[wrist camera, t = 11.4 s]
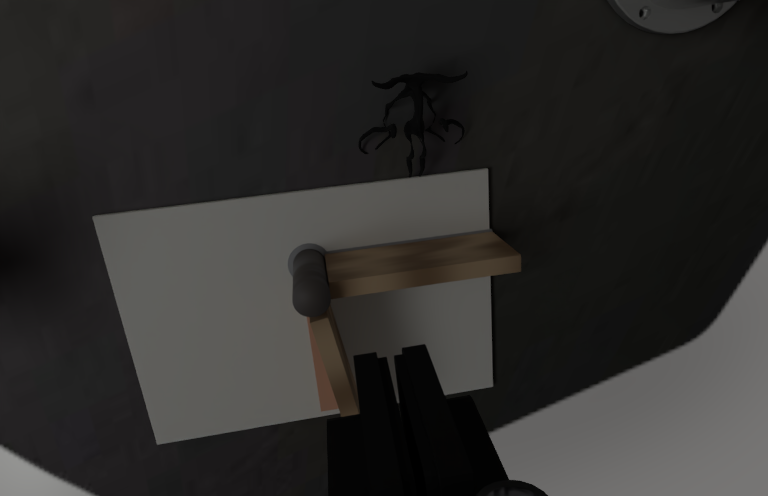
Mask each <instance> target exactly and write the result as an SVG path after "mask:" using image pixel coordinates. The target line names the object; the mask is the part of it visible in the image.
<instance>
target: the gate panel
mask: <svg viewBox="0 0 768 496" xmlns="http://www.w3.org/2000/svg"><path fill="white" fill-rule="evenodd" d="M310 325H311V328H312V331H313V334H314V337H315V340H316V343H317V346H318V349H319V352H320V355H321V358H322V361H323V363H324V366H325V369H326V372H327V375H328V378H329V381H330V384H331V387H332V390H333V393H334V396H335V399H336V402H337V405H338V408H339V411H340V414H341V417H344V416H350V415H356V414H360V409H359V401H358V392H357V386H356V383H355V380H354V377H353V374H352V371H351V367H350V364H349V361H348V358H347V355H346V352H345V349H344V345H343V342H342V339H341V336H340V333H339V330H338V327H337V323H336V320H335V317H334V314H333V311H332V308H331V304H330V306H329V308H328V309H327V311H326V312H324V313H323V314H322V315H320V316H317V317H310Z"/></svg>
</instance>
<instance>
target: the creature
mask: <svg viewBox="0 0 768 496" xmlns="http://www.w3.org/2000/svg"><path fill="white" fill-rule="evenodd" d="M466 76H467V71H466V73H465V74H463V75H460V76H456V77H447V76H443V75H440V74H424V73H415V74H413V75H408V74H404V75H401V76H400V77H396V78H393V79H391V80H390V81H388V82H387V83H383V84H380V83H375V82H373V81H372V84H373V85H374V86H375V87H378V88H381V89H390V88H392V87H393V86H394V85H396V84H397V83H398V82H404V83H406V86H405V89H404V90H403V91H402V92H401V93H400V94H399V95H398V96H397V97H396V98H395V99H394V100H393V101H392V102H391V103H389V104H386V109H385V117H384V119H385V118H386V116H387V112H388V109H389V108H390V107H391V106H392V105H393V103H394V102H395V101H397V100H399V99H401V98H404V97H408V96H411V97H412V99H413V101H414V107H415V112H414V116H413V118H412V119H411V120H410V121H408V122H407V123H406V125H405V127H404V132H405V135H406V137H407V139H408V140H409V141H410V142H411V153H410V155H409V157H407V166H408V169H409V173H410V174H409V178H411V175H412V162H411V160H412V159H413V157H414V150H413V147H412V140H411V134H414V135H416V136H418V138H419V137H420V138H421V139H422V142H421V143H422V145H423V152H422V155H421V156H420V166H421V171H420V173H419V177H420V176H421V175H422V172H423V171H424V168H425V156H426V148H425V144H424V135H423V132H424V122H423V118H422V115H423V96H424V97H426V98H427V100H428V101H427V103H428V105H429V107H430V109H431V110H432V112H433V113H434V114H435V112H434V111H433V109H432V107H431V103H430V102H431V99H430V98H429V97H428V96H427V95H426V94H425V93H424V92H423V91H422V89H421V85H422V83H423V82H425V81H428V80H437V81H440V82H444V83H452V82H455V81H459V80H461V79H463V78H465V77H466ZM435 116H436V114H435ZM384 119H383V122H384ZM434 120H435V118H434ZM433 122H434V121H433ZM439 122H440V124H441V125H443V127H444V129H445V131H446V132H448V125H449V124H451V123H453V124H455V125H457V126H458V127H460V128H462V137H463V135H464V127H463V126H462V125H461V124H460V123H459V122H458V121H456V120H453V119H450V120H446V121H445V120H444V119H440V120H439ZM432 124H433V123H432ZM384 126H385V124H384ZM430 127H431V126H430ZM430 127H429V128H427V129H426V130H425V131H428V132H430V133H432V134H435V135H437V134H436V133H434V132H432V131H431V130H430ZM389 130H391V132H390V131H389ZM387 131H389V136H388V137H387V138H386V139H385V140H387V139H388V138H390V137H391V136H392V138H395V136H396V126H395V124H391V125H389V126H388V127H386V126H385V127H381V128H380V127H374V128H372V129H370V130H369V131H367V132H366V133H365V134H363V135H362V137H361V138H360V140H359V149H360V150H361V151H362V152H363V153H364V154H368V153H367V152H364V151H363V150H362V149H361V141H362V140H363V139H365V138H366V137H367V136H368V135H370V134H371V133H372V132H387ZM437 136H438V137H439V138H440V139H441V140H443V141H444V142H445V140H444V139H443V138H442V137H441V136H439V135H437ZM462 137H461V138H460V140H461V139H462ZM420 138H419V139H420ZM385 140H383V141H382V142H381V143H380V144H379V145H378V146H377V147H376V149H378V148H379V147H380V146H381V144H382V143H383V142H384V141H385ZM460 140H459V141H460ZM420 141H421V140H420ZM459 141H458V142H459ZM458 142H456V143H458ZM456 143H455V144H456ZM376 149H375V150H376Z"/></svg>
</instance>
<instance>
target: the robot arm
mask: <svg viewBox="0 0 768 496" xmlns="http://www.w3.org/2000/svg"><path fill="white" fill-rule="evenodd" d="M607 1H608V2H609V4H610V5H611V6H612V8H613V9H614V10H615V12H616V13H617V14H618V15H619V16H620V17H622V18H623V19H624V20H625V21H626V22H627V23H629V24H631V25H632V26H634V27H636V28H638V29H640V30H643V31H646V32H650V33H654V34H676V33H684V32H688V31H692V30H695V29H698V28H701V27H703V26H705V25H707V24H709V23H711V22H712V21H714V20H716V19H718V18H719V17H720V16H721V15H723V14H724V13H725V12H726V11H728V10H729V9H730V8H731V7H732V6H733V5H734V4H735V3H736V2H737V1H738V0H607ZM639 12H640V15H639ZM353 358H354V367H355V375H356V384H357V392H358V401H359V409H360V414H356V415H350V416H344V417H338V418H333V419H327V451H328V493H329V496H548V495H547V494H545V492H544V491H542V490H540V489H539V488H537V487H535V486H534V485H532V484H529V483H526V482H522V481H516V480H509V479H508V477H507V474H506V472H505V470H504V468H503V465H502V463H501V461H500V459H499V456H498V454H497V452H496V450H495V448H494V445H493V443H492V441H491V439H490V437H489V434H488V432H487V430H486V428H485V425H484V423H483V421H482V419H481V417H480V414H479V412H478V410H477V408H476V405H475V403H474V401H473V399H472V397H471V396H469V395H467V396H462V397H456V398H450V399H446V398H445V395H444V392H443V390H442V387H441V384H440V382H439V379H438V376H437V374H436V371H435V368H434V366H433V363H432V360H431V358H430V355H429V352H428V349H427V347H426V345H425V344H422V345H416V346H410V347H403V348H402V354H400V355H394V363H395V372H396V380H397V388H398V396H399V404H400V412H401V417H400V413H399V409H398V404H397V400H396V395H395V391H394V387H393V382H392V378H391V374H390V369H389V365H388V360H387V357H381V358H378V357H377V352H373V353H366V354H360V355H354V356H353ZM401 420H402V422H401Z"/></svg>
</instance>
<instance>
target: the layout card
mask: <svg viewBox="0 0 768 496" xmlns="http://www.w3.org/2000/svg"><path fill="white" fill-rule="evenodd" d="M92 218H93V221H94V225H95V228H96V232H97V235H98V239H99V242H100V246H101V249H102V253H103V256H104V260H105V263H106V267H107V270H108V274H109V277H110V281H111V284H112V288H113V291H114V295H115V298H116V302H117V305H118V309H119V312H120V316H121V319H122V323H123V326H124V330H125V333H126V337H127V340H128V344H129V347H130V351H131V354H132V358H133V361H134V365H135V368H136V372H137V375H138V379H139V382H140V386H141V389H142V393H143V396H144V400H145V403H146V407H147V410H148V414H149V418H150V421H151V425H152V428H153V432H154V435H155V439H156V442H157V445H158V444H164V443H169V442H175V441H181V440H187V439H193V438H198V437H204V436H210V435H216V434H222V433H227V432H233V431H239V430H245V429H251V428H256V427H262V426H268V425H274V424H279V423H285V422H291V421H297V420H303V419H308V418H314V417H320V416H326V415H332V414H337V413H340V411H339V408H338V405H337V402H336V399H335V396H334V393H333V390H332V387H331V384H330V381H329V378H328V375H327V372H326V369H325V366H324V363H323V361H322V358H321V355H320V352H319V349H318V346H317V343H316V340H315V337H314V334H313V331H312V328H311V325H310V317H306V316H303V315H301V314H299V313H298V312H297V311H296V310H295V308H294V306H293V302H292V294H293V261H294V258H295V256H296V255H297V254H298V253H299V252H300V251H302V250H305V249H314V250H317V251H319V252H320V253H321V254H322V255H323V256H324V258H325V254H331V253H338V252H345V251H353V250H360V249H367V248H375V247H382V246H389V245H397V244H404V243H412V242H419V241H426V240H434V239H441V238H448V237H456V236H463V235H470V234H478V233H485V232H492V229H489V189H488V169H487V168H482V169H474V170H466V171H457V172H449V173H441V174H433V175H424V176H420V177H419V176H416V177H411V178H409V177H408V178H400V179H391V180H383V181H375V182H366V183H358V184H350V185H342V186H333V187H325V188H317V189H309V190H300V191H292V192H284V193H275V194H267V195H259V196H251V197H242V198H234V199H226V200H218V201H209V202H201V203H193V204H185V205H176V206H168V207H160V208H151V209H143V210H135V211H127V212H118V213H110V214H102V215H94V216H93V217H92ZM330 304H331V308H332V311H333V314H334V317H335V320H336V323H337V327H338V330H339V333H340V336H341V339H342V342H343V345H344V349H345V352H346V355H347V358H348V361H349V364H350V367H351V371H352V374H353V377H354V380H355V383H356V375H355V367H354V358H353V356H354V355H360V354H366V353H373V352H377V357H378V358H381V357H387V360H388V365H389V369H390V374H391V378H392V382H393V387H394V391H395V395H396V400H397V403H399V396H398V388H397V380H396V372H395V363H394V355H400V354H402V348H403V347H410V346H416V345H422V344H425V345H426V347H427V349H428V352H429V355H430V358H431V360H432V363H433V366H434V368H435V371H436V374H437V376H438V379H439V382H440V384H441V387H442V390H443V392H444V395H447V394H453V393H459V392H465V391H471V390H476V389H482V388H488V387H493V368H492V323H491V279H490V276H487V277H480V278H473V279H466V280H460V281H453V282H446V283H439V284H432V285H425V286H419V287H412V288H405V289H398V290H391V291H384V292H378V293H371V294H364V295H357V296H350V297H343V298H337V299H331V303H330ZM356 386H357V384H356Z"/></svg>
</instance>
